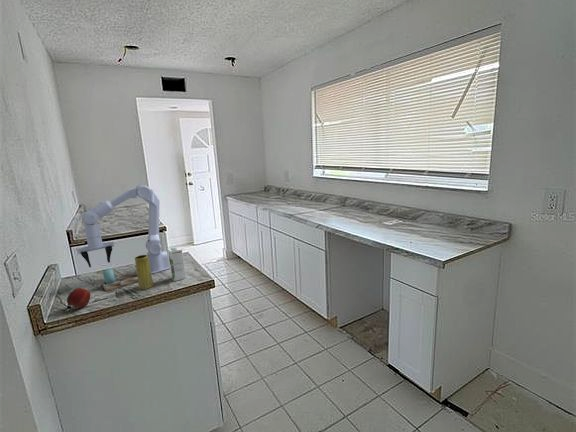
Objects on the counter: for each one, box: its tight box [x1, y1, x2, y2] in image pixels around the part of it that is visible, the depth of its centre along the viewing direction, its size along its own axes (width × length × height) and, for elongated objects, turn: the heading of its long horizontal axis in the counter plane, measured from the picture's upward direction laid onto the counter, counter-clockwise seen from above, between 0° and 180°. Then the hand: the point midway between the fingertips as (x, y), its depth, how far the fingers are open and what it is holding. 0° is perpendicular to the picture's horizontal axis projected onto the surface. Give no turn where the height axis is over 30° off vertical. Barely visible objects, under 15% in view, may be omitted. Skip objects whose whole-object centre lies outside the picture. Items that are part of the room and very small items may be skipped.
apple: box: [66, 287, 91, 309], centre depth 119 cm, size 7×8×8 cm
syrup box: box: [167, 246, 187, 282], centre depth 141 cm, size 6×6×14 cm
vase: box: [134, 254, 154, 290], centre depth 134 cm, size 6×6×14 cm
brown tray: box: [101, 271, 138, 293], centre depth 141 cm, size 15×11×2 cm
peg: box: [102, 268, 116, 285], centre depth 138 cm, size 4×4×7 cm
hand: (99, 264), depth 141 cm, fingers open, 7 cm apart
